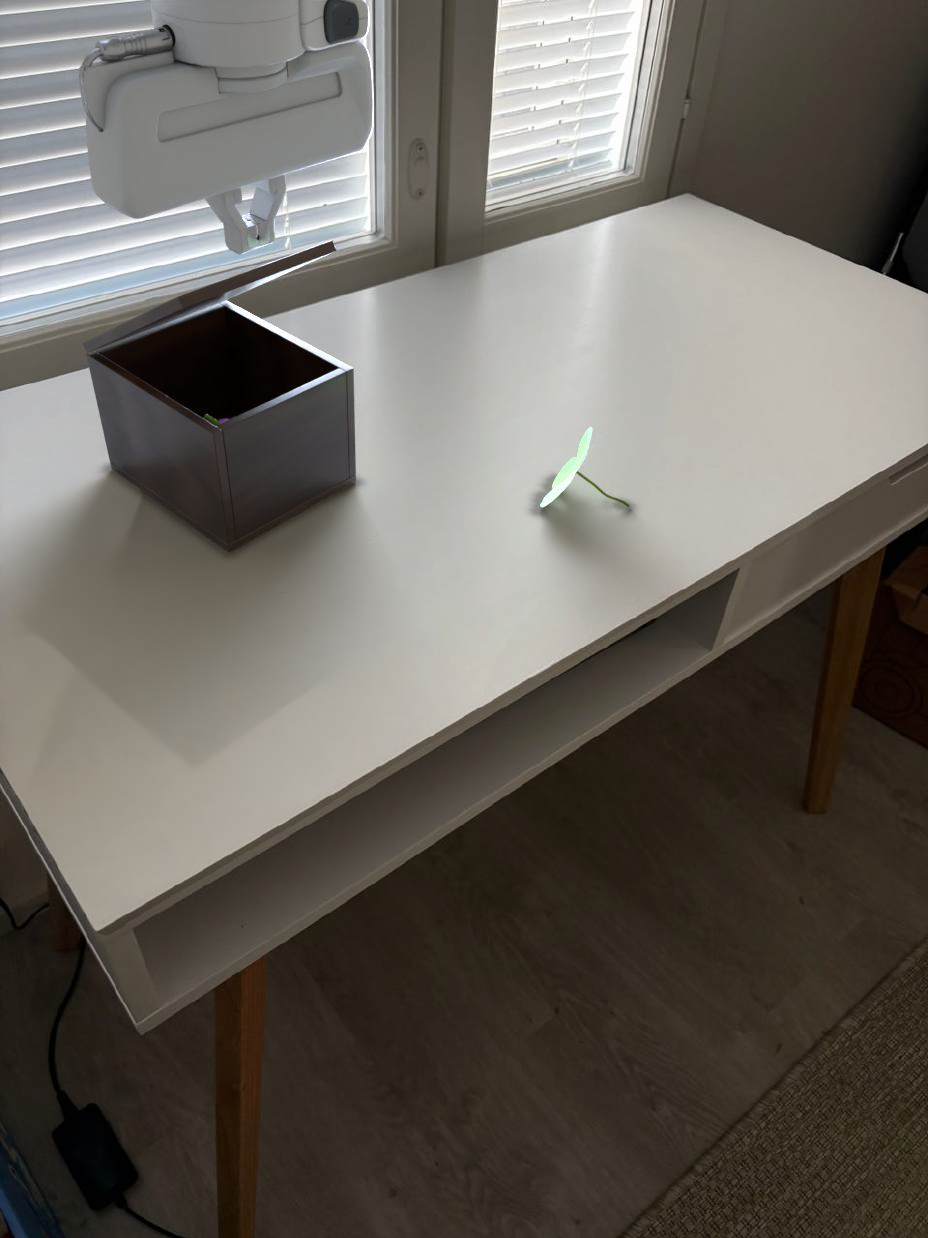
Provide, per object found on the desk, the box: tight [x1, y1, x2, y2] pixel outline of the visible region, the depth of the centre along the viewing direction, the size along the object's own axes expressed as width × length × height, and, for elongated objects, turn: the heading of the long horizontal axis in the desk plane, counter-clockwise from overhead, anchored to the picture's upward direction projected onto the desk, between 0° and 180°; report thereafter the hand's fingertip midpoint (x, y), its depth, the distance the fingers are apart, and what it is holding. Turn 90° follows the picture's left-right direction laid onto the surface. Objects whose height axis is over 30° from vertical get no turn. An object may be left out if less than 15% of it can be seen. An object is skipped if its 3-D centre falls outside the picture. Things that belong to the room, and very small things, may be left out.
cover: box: [82, 239, 338, 354], centre depth 75 cm, size 16×14×1 cm
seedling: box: [539, 426, 630, 508], centre depth 85 cm, size 7×8×6 cm
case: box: [85, 300, 357, 554], centre depth 82 cm, size 16×14×11 cm
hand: (251, 246), depth 69 cm, fingers closed
